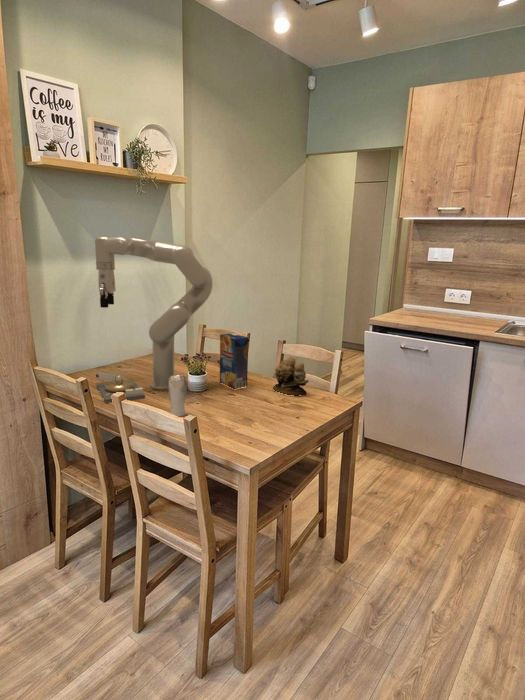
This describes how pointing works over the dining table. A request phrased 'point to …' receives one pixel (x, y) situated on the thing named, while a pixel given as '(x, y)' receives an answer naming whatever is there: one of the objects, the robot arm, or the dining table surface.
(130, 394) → the level stand
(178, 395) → the beer glass
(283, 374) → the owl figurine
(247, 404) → the dining table surface
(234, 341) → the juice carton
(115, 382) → the cam foot
